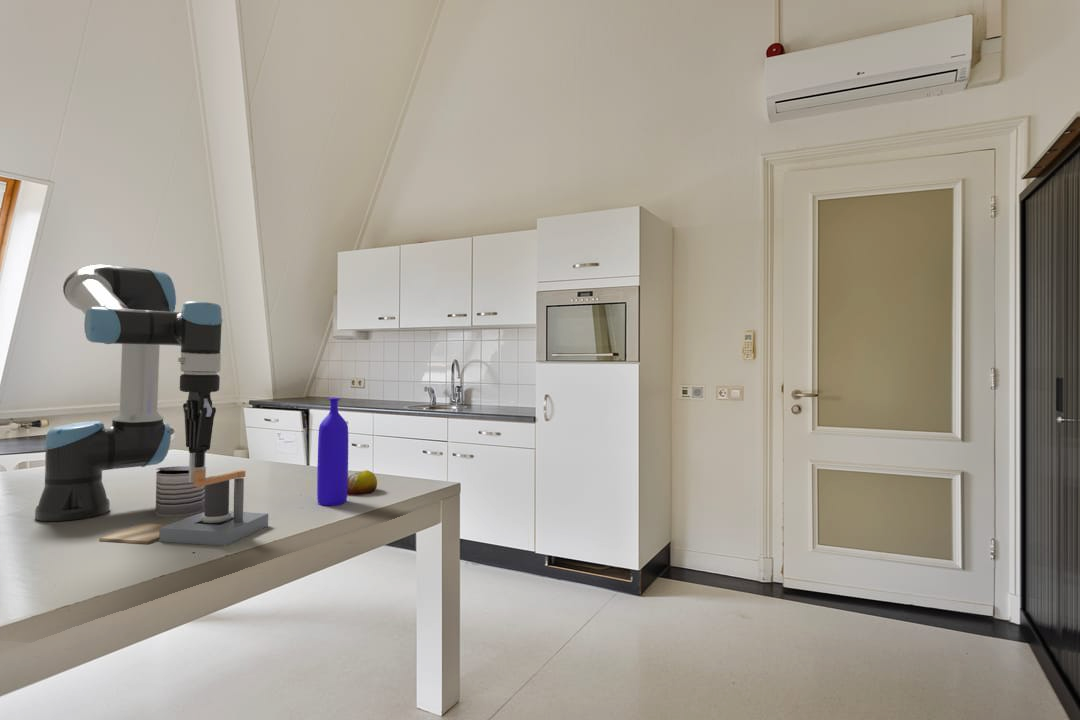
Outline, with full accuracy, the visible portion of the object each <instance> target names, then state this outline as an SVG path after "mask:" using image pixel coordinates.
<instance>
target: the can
mask: <svg viewBox="0 0 1080 720" xmlns="http://www.w3.org/2000/svg"><path fill="white" fill-rule="evenodd" d="M206 469H207V466H205V478H207V476H206V474H207V473H206V471H207V470H206ZM155 470H157V471H156V478H155V479H156V480H155V484H156V485H155V515H156V516H159V517H162V516H167V518H168V516H169V518H174V517H175V518H177V517H183V516H184V515H186V516H192V515H196V514H199V513H202V512H204V511H205V486H201V487H194V483H190V482H189V465H188V466H187V465H186V466H184V465H183V466H179V465H178V466H165V467H157V468H156V469H155ZM198 512H199V513H198ZM195 513H196V514H195ZM191 514H192V515H191ZM176 516H177V517H176Z"/></svg>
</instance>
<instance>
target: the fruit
mask: <svg viewBox="0 0 1080 720" xmlns="http://www.w3.org/2000/svg"><path fill="white" fill-rule="evenodd" d="M377 487H378V478H377V477H376V475H375V473H374V472H372V471H370V470H363V471H362V470H361V471H360V470H359V471H358V470H356V471H355V472H350V473H348V487H347V496H361V495H368V494H372V493H374V492H375V491H376V490H377Z"/></svg>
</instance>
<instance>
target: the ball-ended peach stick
mask: <svg viewBox="0 0 1080 720" xmlns="http://www.w3.org/2000/svg"><path fill="white" fill-rule="evenodd" d="M245 477H246V470H234V471H232V472H228V473H223V474H219V475H214V477H212V476H209V478H207V477H206V478H205V471H204V470H198V471H194V487H201V486H205V485H210V484H214V483H218V482H222V481H226V480H229V481H230V480H234V479H236V478H245Z"/></svg>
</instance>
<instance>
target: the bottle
mask: <svg viewBox="0 0 1080 720" xmlns="http://www.w3.org/2000/svg"><path fill="white" fill-rule="evenodd" d="M340 400H341V398H340V397H329V398H328V401H330V405H329V406H330V410H329V413H328V414H327V415H326V416H325V417H324V418H323V420H322V421H321V423H320V424H319V427H318V437H317V464H316V465H317V470H316V471H317V475H316V476H317V478H316V479H317V480H316V483H317V487H316V495H317V498H316V499H317V504H318V505H319V506H327V507H330V506H331V507H334V506H340V505H343V504H345V503H347V499H348V494H347V487H348V474H349V426H348V423H347V421H346V420H345V418H343V416H342V415H341V414H340V413H339V408H338V405H339V404H338V403H339V401H340Z"/></svg>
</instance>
